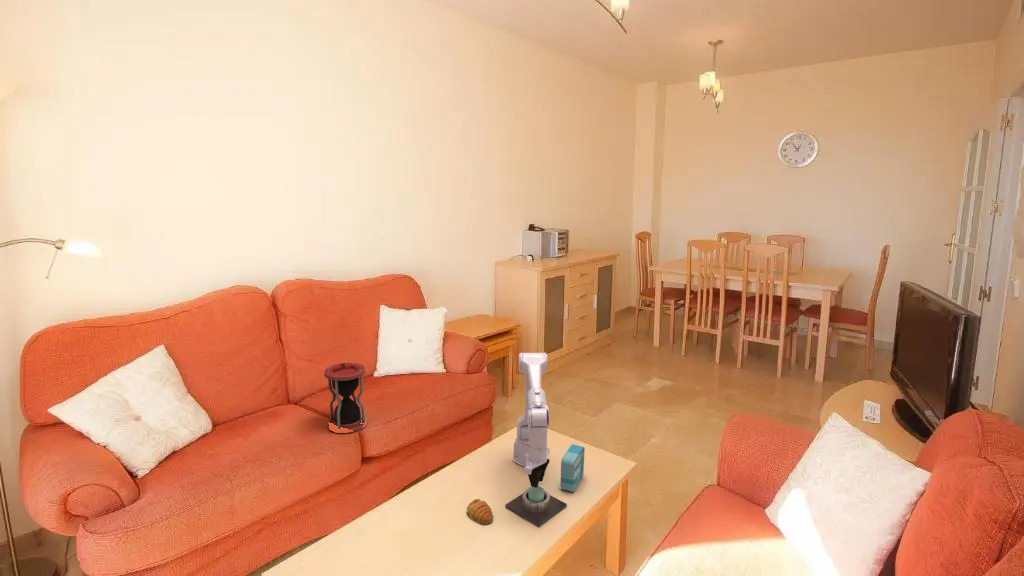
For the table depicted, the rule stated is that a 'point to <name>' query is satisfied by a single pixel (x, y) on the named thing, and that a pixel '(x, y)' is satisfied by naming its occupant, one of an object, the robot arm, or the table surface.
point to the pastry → (480, 511)
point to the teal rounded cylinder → (536, 494)
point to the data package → (572, 468)
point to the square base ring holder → (536, 508)
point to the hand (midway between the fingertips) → (536, 483)
